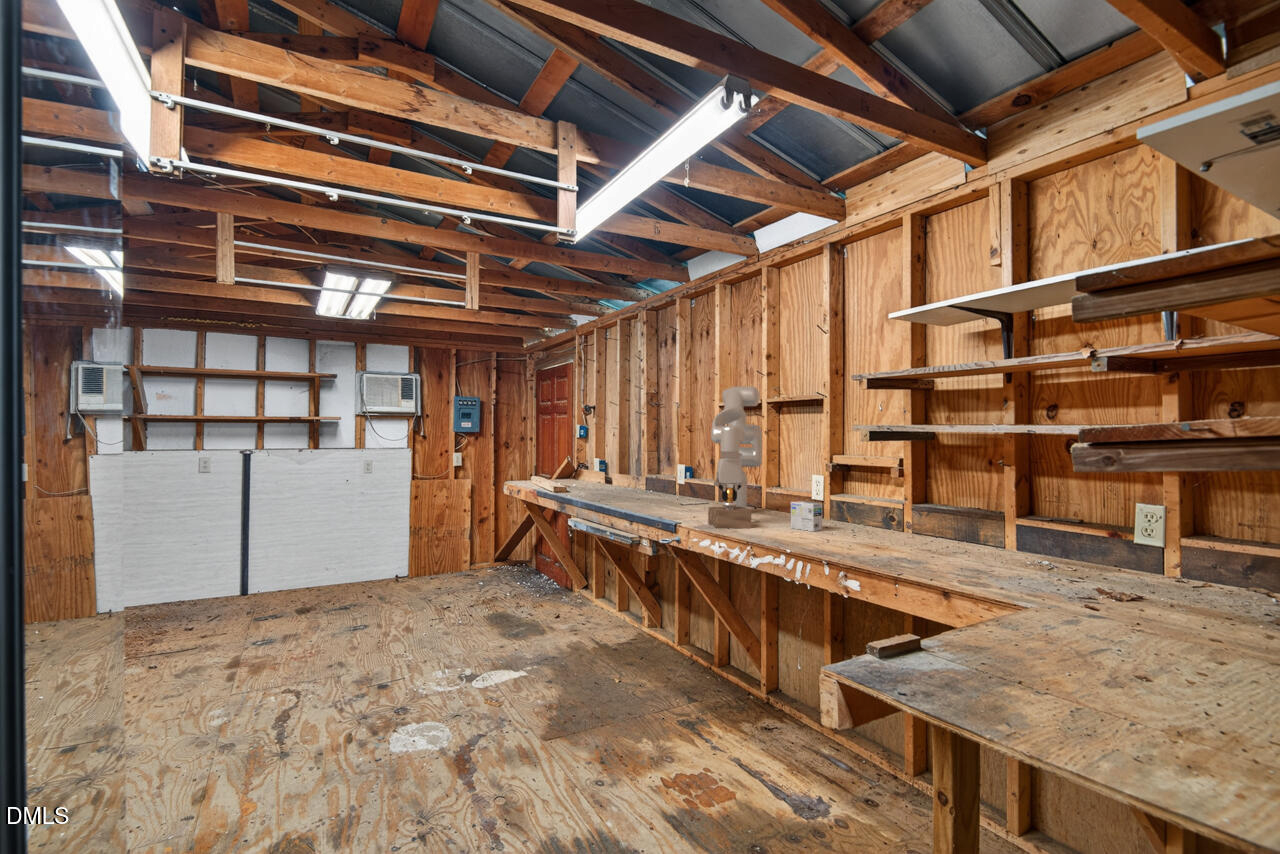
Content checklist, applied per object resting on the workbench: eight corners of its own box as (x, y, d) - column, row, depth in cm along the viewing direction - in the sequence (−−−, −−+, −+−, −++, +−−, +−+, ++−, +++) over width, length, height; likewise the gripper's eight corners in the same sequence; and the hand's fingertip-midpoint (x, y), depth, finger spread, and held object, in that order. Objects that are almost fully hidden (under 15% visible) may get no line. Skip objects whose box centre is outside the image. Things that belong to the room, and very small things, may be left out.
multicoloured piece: (720, 519, 246) (721, 487, 246) (733, 519, 247) (734, 487, 247) (724, 521, 240) (724, 488, 241) (738, 521, 241) (738, 488, 242)
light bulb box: (822, 530, 234) (823, 503, 235) (813, 532, 230) (813, 504, 230) (799, 527, 242) (799, 500, 243) (789, 528, 238) (790, 501, 238)
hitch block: (708, 523, 250) (708, 506, 250) (740, 523, 252) (740, 506, 252) (717, 528, 236) (717, 511, 236) (751, 528, 238) (751, 510, 238)
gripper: (745, 456, 249) (745, 500, 249) (707, 455, 247) (707, 500, 246) (751, 456, 242) (751, 501, 241) (712, 456, 239) (712, 502, 239)
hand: (729, 500), depth 244 cm, fingers closed on multicoloured piece, 3 cm apart
